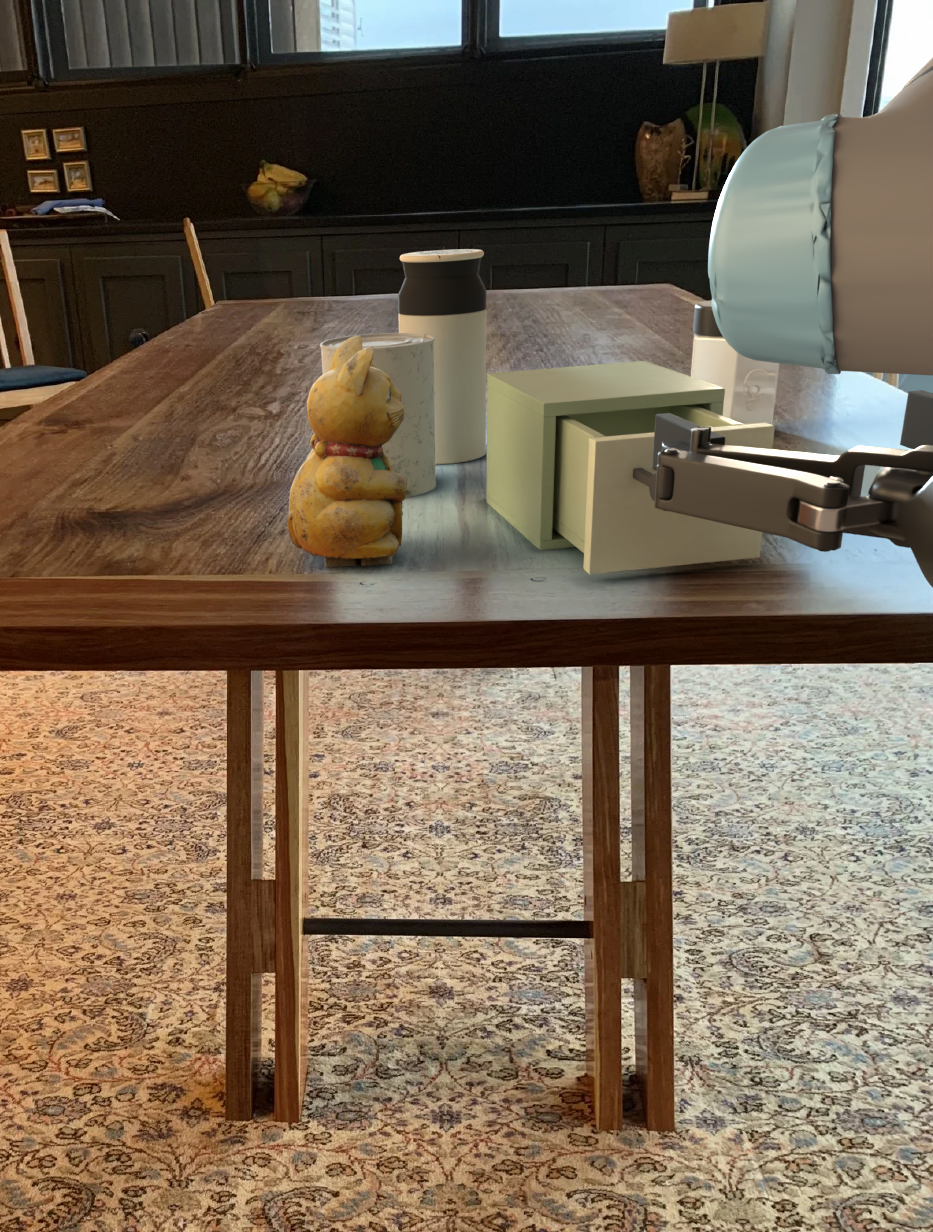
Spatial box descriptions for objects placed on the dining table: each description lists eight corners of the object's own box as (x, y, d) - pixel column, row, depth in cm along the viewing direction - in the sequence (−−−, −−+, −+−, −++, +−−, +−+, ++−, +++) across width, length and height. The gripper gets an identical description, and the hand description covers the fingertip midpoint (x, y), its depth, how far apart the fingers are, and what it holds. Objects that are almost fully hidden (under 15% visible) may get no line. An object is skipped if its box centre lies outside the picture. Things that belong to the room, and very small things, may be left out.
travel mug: (458, 446, 120) (457, 248, 111) (501, 459, 113) (504, 250, 105) (387, 457, 117) (381, 255, 108) (428, 471, 110) (424, 257, 102)
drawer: (795, 578, 74) (813, 440, 70) (615, 597, 73) (623, 457, 69) (677, 508, 90) (686, 392, 86) (528, 522, 89) (531, 405, 85)
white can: (430, 502, 100) (428, 346, 94) (318, 503, 102) (309, 350, 96) (442, 476, 108) (440, 331, 103) (338, 477, 110) (331, 335, 104)
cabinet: (711, 537, 87) (725, 388, 82) (539, 553, 85) (543, 403, 80) (636, 491, 100) (644, 360, 95) (486, 505, 98) (487, 373, 94)
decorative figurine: (421, 573, 83) (416, 343, 76) (304, 588, 81) (288, 354, 74) (386, 538, 91) (379, 327, 84) (279, 550, 90) (263, 337, 83)
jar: (708, 446, 113) (721, 310, 107) (665, 432, 120) (674, 303, 114) (792, 437, 115) (809, 302, 109) (744, 423, 122) (758, 295, 116)
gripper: (728, 670, 44) (551, 524, 62) (1344, 600, 46) (997, 480, 65) (749, 462, 40) (555, 373, 59) (1416, 398, 43) (1027, 332, 61)
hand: (786, 429), depth 62 cm, fingers open, 13 cm apart
